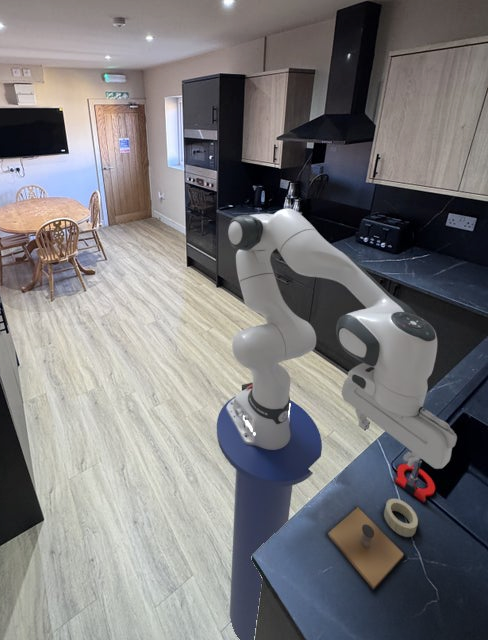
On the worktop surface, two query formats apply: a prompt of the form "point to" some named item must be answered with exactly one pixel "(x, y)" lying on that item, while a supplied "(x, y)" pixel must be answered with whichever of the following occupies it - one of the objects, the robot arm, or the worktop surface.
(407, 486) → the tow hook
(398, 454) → the worktop surface
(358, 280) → the robot arm
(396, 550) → the peg stand
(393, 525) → the tape roll
